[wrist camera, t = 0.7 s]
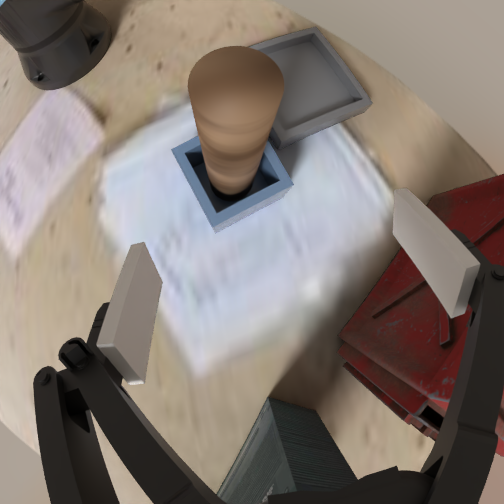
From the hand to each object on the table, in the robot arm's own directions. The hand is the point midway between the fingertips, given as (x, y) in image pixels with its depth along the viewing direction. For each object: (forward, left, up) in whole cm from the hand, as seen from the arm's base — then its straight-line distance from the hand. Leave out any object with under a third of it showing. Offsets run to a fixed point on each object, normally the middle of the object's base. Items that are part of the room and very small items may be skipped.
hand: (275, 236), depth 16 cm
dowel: (-8, +2, -21) cm, 22 cm away
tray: (-16, +16, -22) cm, 31 cm away
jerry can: (+17, +19, -22) cm, 34 cm away
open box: (-8, +2, -22) cm, 23 cm away
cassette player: (+29, -16, -22) cm, 40 cm away
